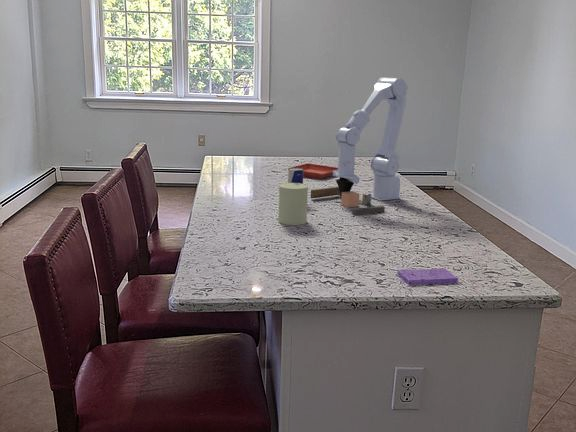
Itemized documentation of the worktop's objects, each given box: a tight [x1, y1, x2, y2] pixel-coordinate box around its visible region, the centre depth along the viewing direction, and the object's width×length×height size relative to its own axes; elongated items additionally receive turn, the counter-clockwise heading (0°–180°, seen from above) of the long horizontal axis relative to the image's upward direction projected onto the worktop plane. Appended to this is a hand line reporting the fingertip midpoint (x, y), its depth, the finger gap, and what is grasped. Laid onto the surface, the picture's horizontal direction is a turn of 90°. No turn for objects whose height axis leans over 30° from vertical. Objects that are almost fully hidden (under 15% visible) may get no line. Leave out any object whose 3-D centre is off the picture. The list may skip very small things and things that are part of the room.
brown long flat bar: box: [310, 186, 340, 199], centre depth 224 cm, size 1×13×3 cm, turn 125°
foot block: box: [340, 190, 360, 208], centre depth 214 cm, size 4×4×4 cm
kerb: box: [352, 205, 386, 216], centre depth 204 cm, size 12×2×2 cm, turn 117°
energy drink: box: [287, 167, 304, 184], centre depth 216 cm, size 5×5×12 cm
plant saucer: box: [287, 162, 338, 180], centre depth 269 cm, size 18×18×3 cm
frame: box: [338, 193, 373, 207], centre depth 222 cm, size 4×19×4 cm, turn 27°
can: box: [277, 182, 309, 226], centre depth 190 cm, size 9×9×12 cm
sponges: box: [397, 268, 459, 286], centre depth 144 cm, size 7×13×2 cm, turn 102°
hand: (344, 199), depth 217 cm, fingers closed
